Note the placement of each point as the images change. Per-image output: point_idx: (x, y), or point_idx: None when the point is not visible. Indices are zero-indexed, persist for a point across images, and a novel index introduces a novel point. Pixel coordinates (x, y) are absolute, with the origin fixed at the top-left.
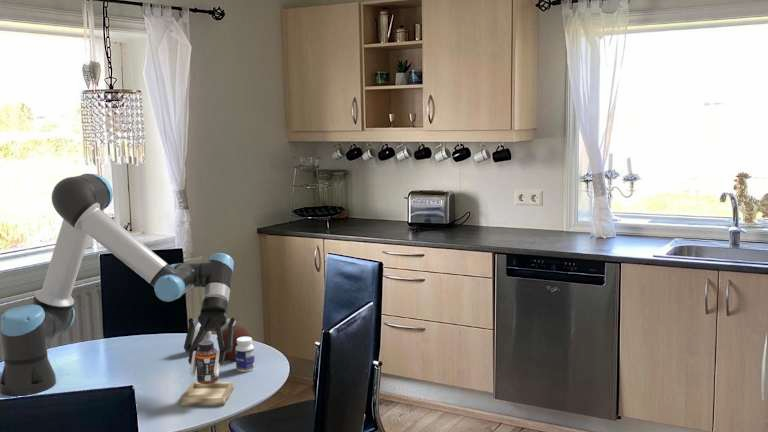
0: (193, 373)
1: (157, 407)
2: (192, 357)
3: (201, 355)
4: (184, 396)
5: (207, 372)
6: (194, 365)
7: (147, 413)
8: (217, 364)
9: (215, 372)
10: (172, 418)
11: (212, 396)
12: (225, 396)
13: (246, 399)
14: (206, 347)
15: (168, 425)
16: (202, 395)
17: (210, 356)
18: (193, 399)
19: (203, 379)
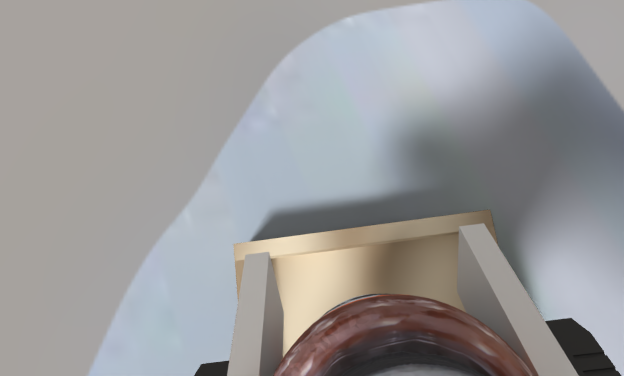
0: (460, 260)
1: (594, 183)
2: (554, 342)
3: (415, 298)
4: None
5: (346, 301)
6: (487, 306)
7: (600, 105)
8: (237, 312)
9: (254, 258)
10: (439, 71)
11: None
12: (239, 292)
13: (147, 353)
14: (365, 368)
15: (420, 3)
16: None
17: (305, 331)
18: (409, 222)
19: (379, 293)
